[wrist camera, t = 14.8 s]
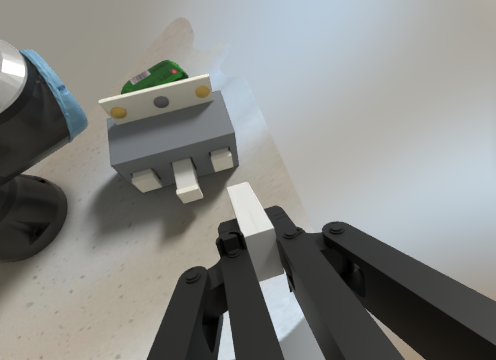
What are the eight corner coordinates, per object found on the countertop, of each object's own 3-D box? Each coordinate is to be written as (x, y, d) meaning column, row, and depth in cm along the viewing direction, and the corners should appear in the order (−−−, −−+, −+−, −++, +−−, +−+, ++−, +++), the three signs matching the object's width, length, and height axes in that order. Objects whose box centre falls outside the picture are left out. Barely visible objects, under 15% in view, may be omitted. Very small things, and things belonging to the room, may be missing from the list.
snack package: (121, 104, 56) (109, 87, 51) (178, 69, 60) (171, 50, 55) (138, 123, 54) (126, 107, 49) (195, 85, 58) (190, 67, 53)
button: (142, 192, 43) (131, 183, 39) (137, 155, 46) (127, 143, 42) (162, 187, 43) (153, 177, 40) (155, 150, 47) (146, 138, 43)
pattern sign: (117, 126, 39) (99, 104, 35) (116, 122, 40) (98, 100, 35) (214, 101, 41) (209, 77, 37) (213, 97, 41) (208, 73, 37)
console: (141, 193, 47) (110, 165, 37) (136, 153, 50) (106, 118, 40) (238, 165, 48) (234, 132, 38) (226, 129, 52) (220, 90, 42)
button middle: (184, 203, 42) (177, 194, 38) (175, 164, 45) (168, 153, 41) (203, 197, 42) (198, 188, 39) (194, 159, 46) (188, 147, 42)
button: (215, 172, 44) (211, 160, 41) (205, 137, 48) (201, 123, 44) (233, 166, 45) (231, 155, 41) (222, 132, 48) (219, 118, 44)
